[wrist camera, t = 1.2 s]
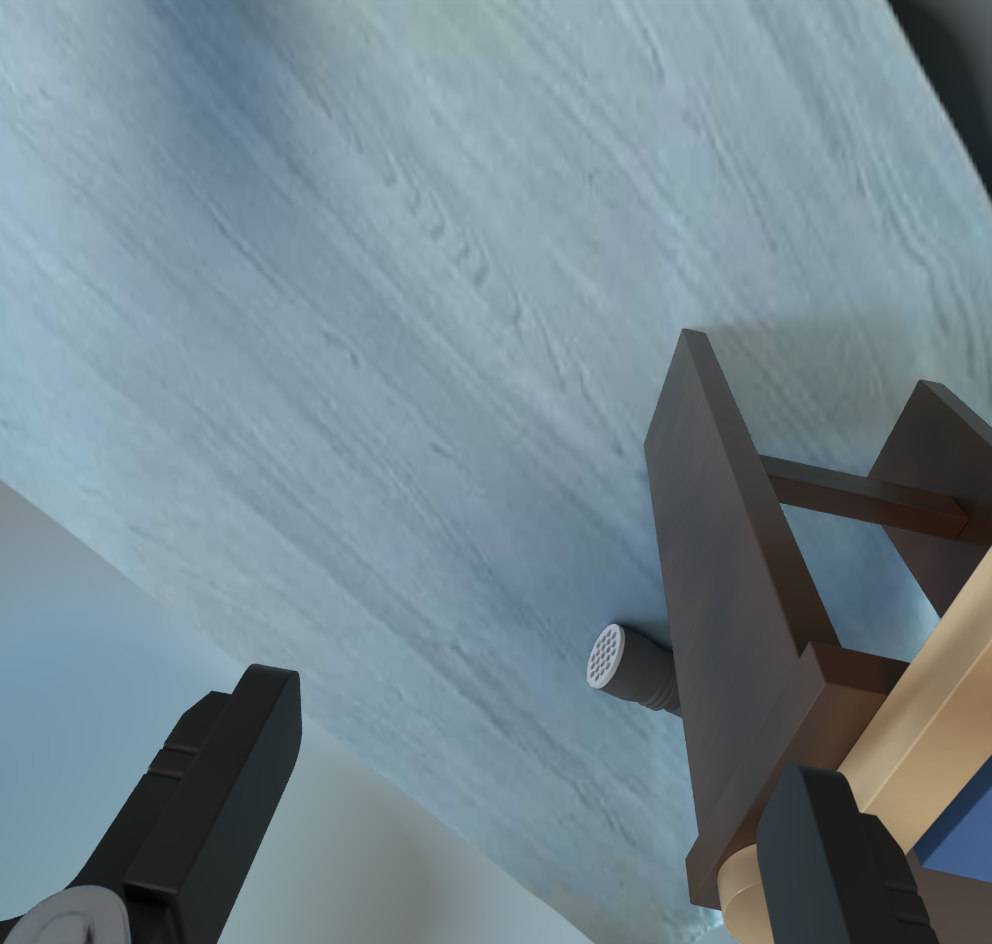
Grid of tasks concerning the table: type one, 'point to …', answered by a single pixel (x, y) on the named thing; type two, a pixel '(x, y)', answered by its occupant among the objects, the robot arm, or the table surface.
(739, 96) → the table surface
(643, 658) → the flashlight
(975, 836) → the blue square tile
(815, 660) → the stool
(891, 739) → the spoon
